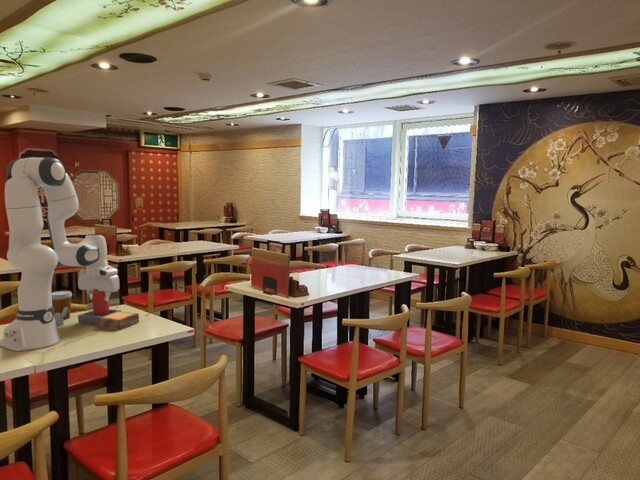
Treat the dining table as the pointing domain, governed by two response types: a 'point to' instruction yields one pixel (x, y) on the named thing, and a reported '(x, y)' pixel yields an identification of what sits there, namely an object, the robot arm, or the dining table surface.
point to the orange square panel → (118, 315)
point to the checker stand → (118, 321)
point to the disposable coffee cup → (61, 302)
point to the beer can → (99, 303)
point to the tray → (92, 317)
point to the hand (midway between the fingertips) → (99, 300)
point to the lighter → (60, 316)
